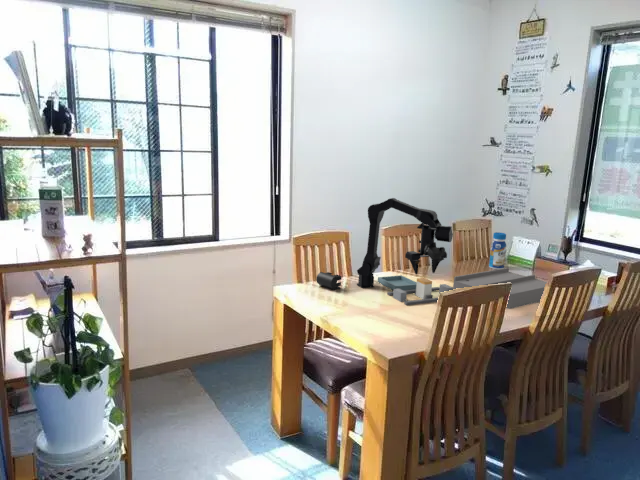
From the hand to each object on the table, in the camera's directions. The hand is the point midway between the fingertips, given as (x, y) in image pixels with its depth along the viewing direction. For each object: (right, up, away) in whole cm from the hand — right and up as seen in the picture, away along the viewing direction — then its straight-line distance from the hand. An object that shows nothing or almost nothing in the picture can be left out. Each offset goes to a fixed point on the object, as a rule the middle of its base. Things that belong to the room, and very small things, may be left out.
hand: (424, 273), depth 224 cm
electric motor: (-43, -8, +11) cm, 45 cm away
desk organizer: (+42, -11, +13) cm, 45 cm away
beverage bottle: (+54, -1, +62) cm, 82 cm away
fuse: (0, -11, +2) cm, 11 cm away
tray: (-9, -7, +19) cm, 22 cm away
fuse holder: (0, -11, +2) cm, 11 cm away
